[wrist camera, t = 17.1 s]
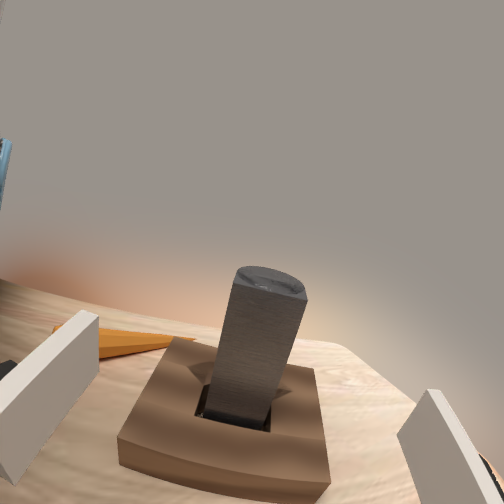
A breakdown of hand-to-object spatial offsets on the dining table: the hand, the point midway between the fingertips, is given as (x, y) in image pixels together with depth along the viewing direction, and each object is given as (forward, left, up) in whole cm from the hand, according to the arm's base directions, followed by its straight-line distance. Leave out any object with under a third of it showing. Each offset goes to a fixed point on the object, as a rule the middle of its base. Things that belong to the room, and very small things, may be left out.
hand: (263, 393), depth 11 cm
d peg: (-10, +8, -16) cm, 20 cm away
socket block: (-10, +8, -16) cm, 20 cm away
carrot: (-24, +3, -16) cm, 29 cm away
